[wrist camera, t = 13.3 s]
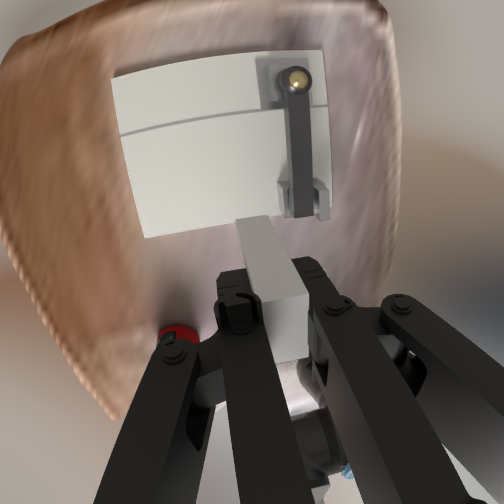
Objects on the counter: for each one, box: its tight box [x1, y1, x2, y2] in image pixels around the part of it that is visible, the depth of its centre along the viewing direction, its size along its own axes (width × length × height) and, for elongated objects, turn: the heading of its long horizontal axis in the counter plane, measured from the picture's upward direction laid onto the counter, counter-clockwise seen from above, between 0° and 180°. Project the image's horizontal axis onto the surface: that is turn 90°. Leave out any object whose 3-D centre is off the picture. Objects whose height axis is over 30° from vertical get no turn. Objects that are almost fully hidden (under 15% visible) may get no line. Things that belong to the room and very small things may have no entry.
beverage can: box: [156, 325, 200, 348], centre depth 41 cm, size 7×7×12 cm
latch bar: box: [278, 66, 314, 218], centre depth 29 cm, size 16×3×2 cm, turn 5°
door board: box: [111, 50, 332, 238], centre depth 33 cm, size 20×24×1 cm
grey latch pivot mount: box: [255, 58, 313, 111], centre depth 29 cm, size 6×6×3 cm
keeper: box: [277, 177, 330, 221], centre depth 34 cm, size 4×5×5 cm
